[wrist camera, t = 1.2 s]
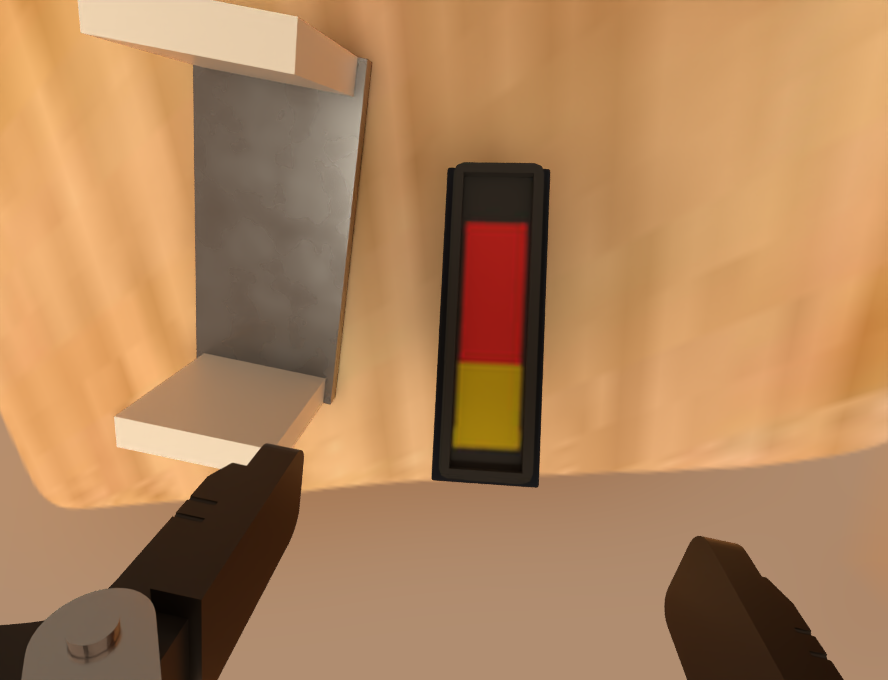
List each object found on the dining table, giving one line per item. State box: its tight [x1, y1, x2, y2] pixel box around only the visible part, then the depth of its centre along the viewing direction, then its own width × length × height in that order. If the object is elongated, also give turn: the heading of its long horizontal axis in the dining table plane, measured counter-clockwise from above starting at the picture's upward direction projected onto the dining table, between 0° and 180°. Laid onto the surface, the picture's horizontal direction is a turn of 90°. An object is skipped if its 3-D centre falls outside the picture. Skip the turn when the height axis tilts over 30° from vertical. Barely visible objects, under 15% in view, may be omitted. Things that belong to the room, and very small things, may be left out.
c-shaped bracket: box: [78, 0, 358, 469], centre depth 24 cm, size 20×8×8 cm, turn 170°
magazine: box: [432, 162, 550, 488], centre depth 24 cm, size 4×13×15 cm, turn 0°
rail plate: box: [193, 57, 372, 404], centre depth 29 cm, size 20×9×1 cm, turn 170°
